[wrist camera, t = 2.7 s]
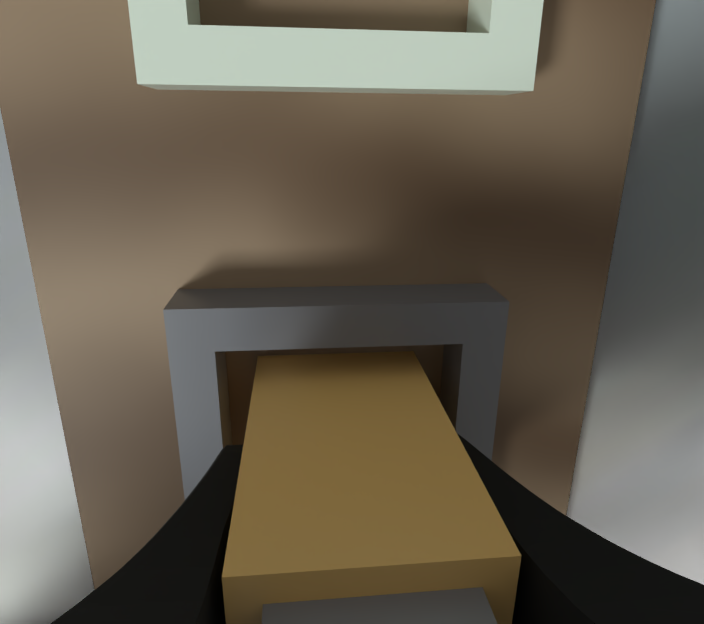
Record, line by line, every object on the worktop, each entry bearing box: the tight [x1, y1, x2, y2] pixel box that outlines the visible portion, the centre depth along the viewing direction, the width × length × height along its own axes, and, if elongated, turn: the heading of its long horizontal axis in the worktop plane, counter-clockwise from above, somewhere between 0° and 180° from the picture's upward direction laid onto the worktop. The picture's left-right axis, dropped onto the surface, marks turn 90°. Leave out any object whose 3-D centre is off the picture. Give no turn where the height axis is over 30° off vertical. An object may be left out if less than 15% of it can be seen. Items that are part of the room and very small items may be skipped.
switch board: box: [0, 0, 656, 589], centre depth 13 cm, size 26×14×1 cm, turn 179°
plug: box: [222, 351, 521, 624], centre depth 11 cm, size 4×4×8 cm
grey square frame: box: [163, 283, 509, 500], centre depth 14 cm, size 8×8×2 cm
